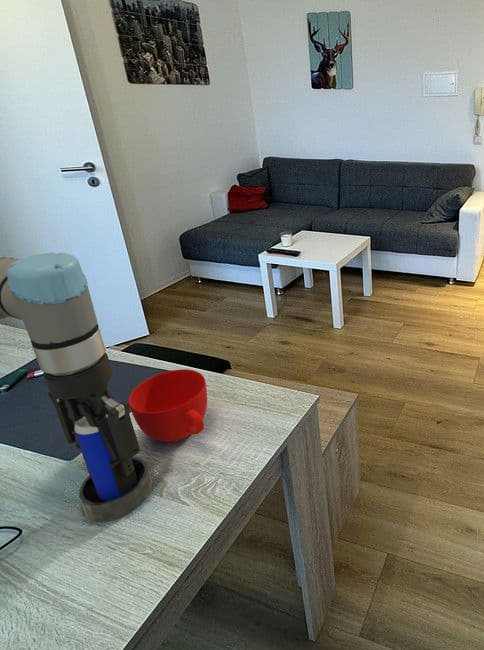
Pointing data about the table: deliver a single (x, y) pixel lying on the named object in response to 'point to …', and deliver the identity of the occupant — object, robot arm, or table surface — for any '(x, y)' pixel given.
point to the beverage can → (97, 460)
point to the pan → (121, 505)
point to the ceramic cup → (170, 405)
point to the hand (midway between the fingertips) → (115, 481)
